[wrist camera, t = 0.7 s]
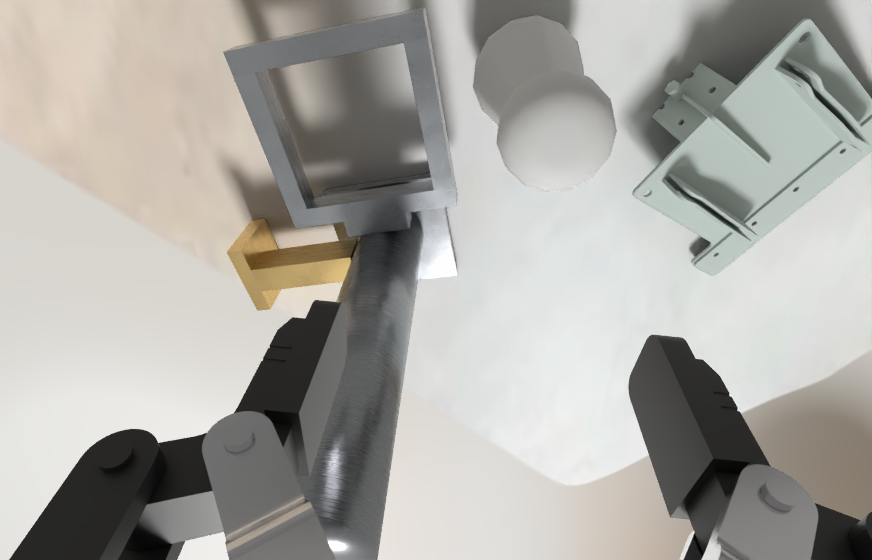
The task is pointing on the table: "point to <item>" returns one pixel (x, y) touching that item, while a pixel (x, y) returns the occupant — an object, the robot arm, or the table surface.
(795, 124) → the metal bracket
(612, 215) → the table surface
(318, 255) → the square post stand
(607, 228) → the table surface
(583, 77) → the salt shaker
